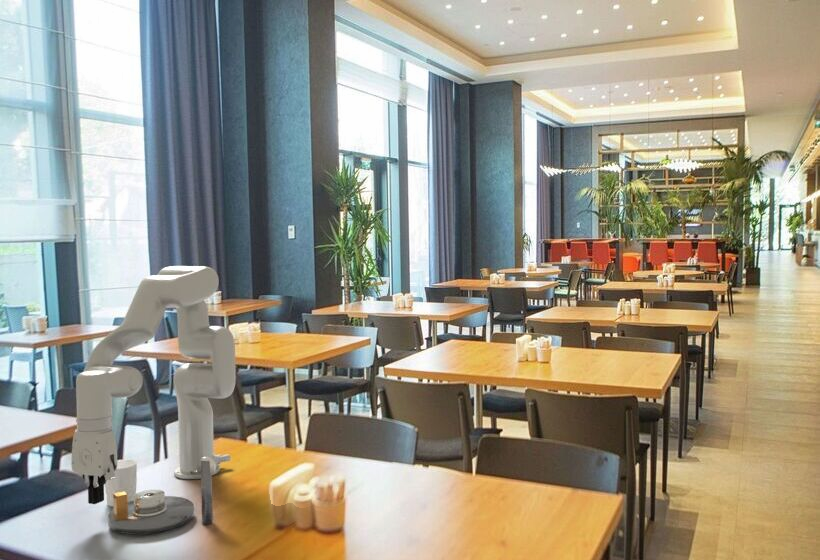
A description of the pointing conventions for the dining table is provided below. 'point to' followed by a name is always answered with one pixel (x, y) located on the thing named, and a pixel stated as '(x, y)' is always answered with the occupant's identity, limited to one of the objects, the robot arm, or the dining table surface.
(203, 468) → the dial post
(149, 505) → the cover
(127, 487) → the white cup
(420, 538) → the dining table surface
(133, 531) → the turntable
